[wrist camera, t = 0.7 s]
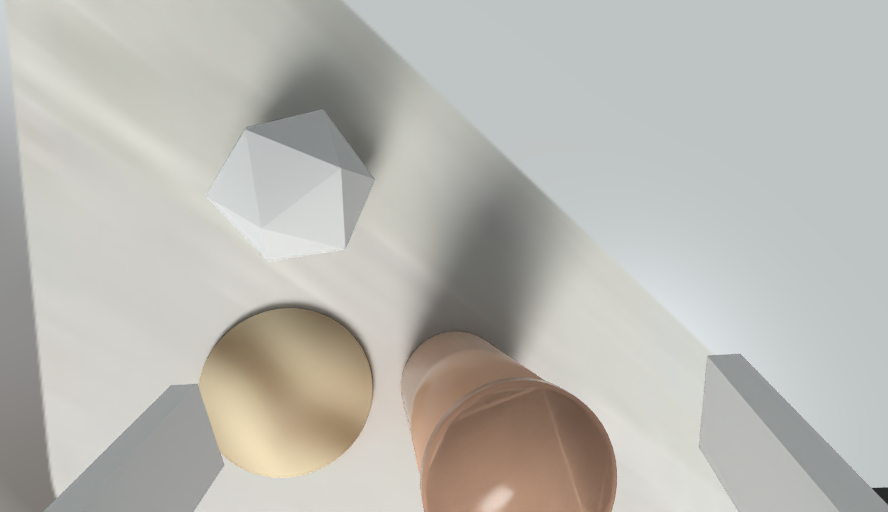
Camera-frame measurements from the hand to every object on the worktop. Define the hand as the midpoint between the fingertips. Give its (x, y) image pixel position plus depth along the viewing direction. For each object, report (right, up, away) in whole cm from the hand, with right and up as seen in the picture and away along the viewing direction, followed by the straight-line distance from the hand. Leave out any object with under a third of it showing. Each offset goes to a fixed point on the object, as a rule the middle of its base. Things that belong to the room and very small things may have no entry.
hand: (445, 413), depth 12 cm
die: (-9, +8, +20) cm, 23 cm away
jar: (+1, -5, +21) cm, 21 cm away
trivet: (-10, -5, +19) cm, 22 cm away
